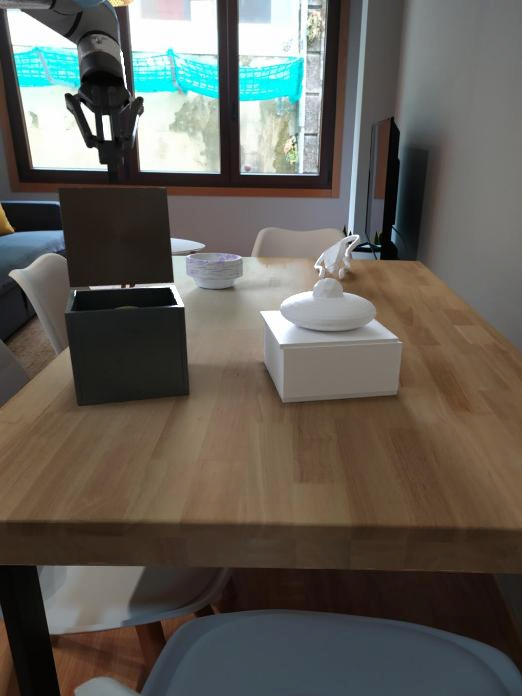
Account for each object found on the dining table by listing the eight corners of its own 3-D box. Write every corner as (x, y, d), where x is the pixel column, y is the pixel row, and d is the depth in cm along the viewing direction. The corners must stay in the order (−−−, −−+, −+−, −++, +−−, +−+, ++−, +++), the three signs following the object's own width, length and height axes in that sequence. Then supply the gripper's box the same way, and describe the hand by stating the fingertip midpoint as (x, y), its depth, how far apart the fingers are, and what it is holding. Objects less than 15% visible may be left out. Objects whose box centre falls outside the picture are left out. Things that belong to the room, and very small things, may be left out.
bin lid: (166, 187, 83) (166, 188, 84) (57, 187, 79) (58, 187, 80) (174, 282, 86) (173, 282, 87) (69, 287, 82) (70, 287, 83)
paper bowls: (248, 281, 154) (248, 252, 151) (235, 293, 140) (235, 262, 137) (196, 278, 156) (195, 250, 153) (179, 290, 142) (177, 259, 139)
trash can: (189, 394, 80) (184, 306, 75) (77, 405, 76) (63, 313, 71) (179, 363, 92) (174, 285, 87) (81, 371, 88) (70, 290, 83)
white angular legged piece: (373, 277, 152) (371, 250, 170) (355, 251, 149) (355, 226, 167) (324, 308, 159) (327, 279, 177) (306, 284, 155) (311, 257, 174)
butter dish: (397, 394, 81) (408, 289, 75) (279, 403, 78) (280, 293, 72) (359, 355, 97) (366, 266, 91) (260, 361, 94) (260, 268, 88)
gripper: (58, 48, 89) (65, 159, 81) (140, 53, 92) (155, 160, 84) (65, 88, 96) (72, 194, 87) (141, 92, 99) (155, 194, 91)
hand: (113, 177), depth 86 cm, fingers closed
